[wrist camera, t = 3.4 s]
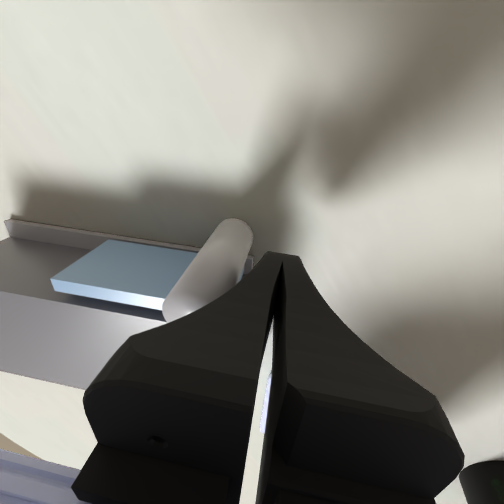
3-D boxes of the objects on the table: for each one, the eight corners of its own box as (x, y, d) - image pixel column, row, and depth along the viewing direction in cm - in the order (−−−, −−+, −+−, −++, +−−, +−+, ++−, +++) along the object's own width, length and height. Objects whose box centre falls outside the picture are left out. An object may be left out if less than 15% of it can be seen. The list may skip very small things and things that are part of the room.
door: (255, 218, 13) (223, 296, 8) (250, 271, 15) (221, 367, 9) (99, 197, 14) (-31, 253, 8) (111, 249, 15) (8, 324, 10)
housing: (253, 256, 15) (234, 315, 11) (244, 350, 19) (228, 421, 15) (-7, 216, 17) (-114, 253, 12) (35, 310, 21) (-35, 363, 16)
